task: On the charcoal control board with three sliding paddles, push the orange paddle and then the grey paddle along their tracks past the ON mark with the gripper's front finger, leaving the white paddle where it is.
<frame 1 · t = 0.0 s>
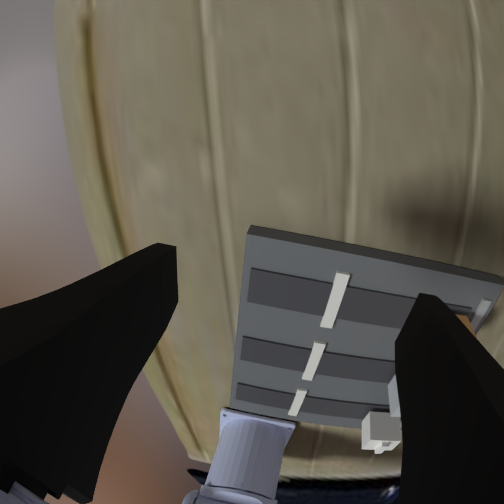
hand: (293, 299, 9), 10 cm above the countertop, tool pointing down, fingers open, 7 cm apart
control board: (350, 355, 23), on the countertop
paddle grey: (411, 397, 19), point 4 cm above the countertop, slide at 0.0 cm
paddle white: (381, 433, 23), point 4 cm above the countertop, slide at 0.0 cm
paddle orange: (450, 342, 16), point 4 cm above the countertop, slide at 0.0 cm
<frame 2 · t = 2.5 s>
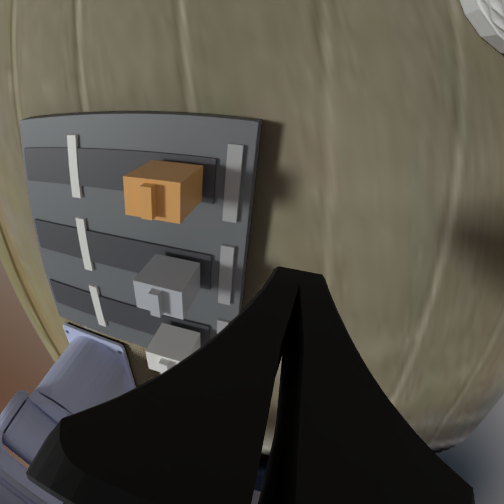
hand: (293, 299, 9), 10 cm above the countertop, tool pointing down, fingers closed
control board: (125, 243, 22), on the countertop
paddle grey: (166, 287, 18), point 4 cm above the countertop, slide at 0.0 cm
paddle white: (172, 353, 21), point 4 cm above the countertop, slide at 0.0 cm
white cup: (500, 7, 9), on the countertop
paddle orange: (162, 190, 15), point 4 cm above the countertop, slide at 0.0 cm
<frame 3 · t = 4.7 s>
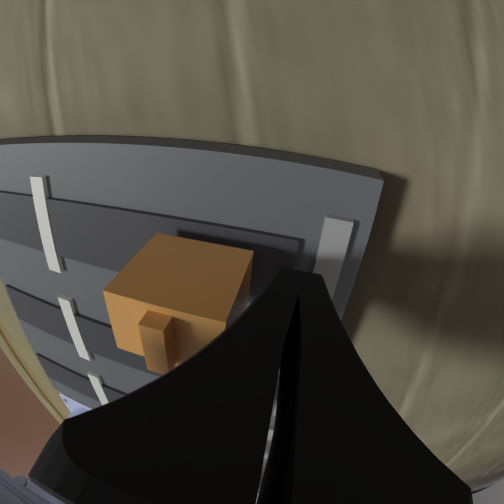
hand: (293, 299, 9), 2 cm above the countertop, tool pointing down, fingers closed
control board: (134, 330, 15), on the countertop
paddle orange: (181, 305, 8), point 4 cm above the countertop, slide at 0.7 cm, touching gripper
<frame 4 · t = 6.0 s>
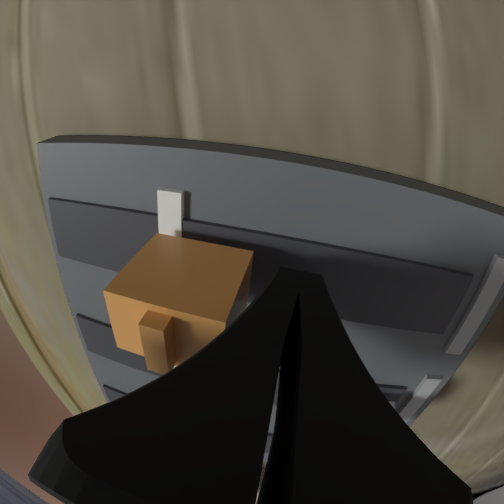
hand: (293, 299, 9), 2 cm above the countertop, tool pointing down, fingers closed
control board: (251, 360, 14), on the countertop
paddle grey: (354, 444, 10), point 4 cm above the countertop, slide at 0.0 cm
paddle orange: (181, 305, 8), point 4 cm above the countertop, slide at 6.7 cm, touching gripper
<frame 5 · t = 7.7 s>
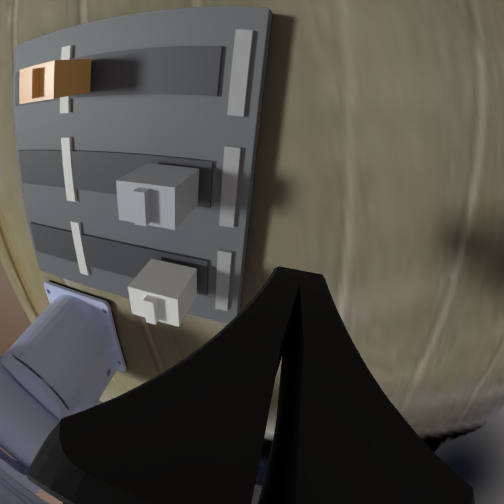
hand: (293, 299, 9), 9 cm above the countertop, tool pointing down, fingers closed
control board: (114, 166, 18), on the countertop
paddle grey: (156, 195, 15), point 4 cm above the countertop, slide at 0.0 cm
paddle white: (162, 293, 18), point 4 cm above the countertop, slide at 0.0 cm
paddle orange: (51, 80, 12), point 4 cm above the countertop, slide at 6.9 cm
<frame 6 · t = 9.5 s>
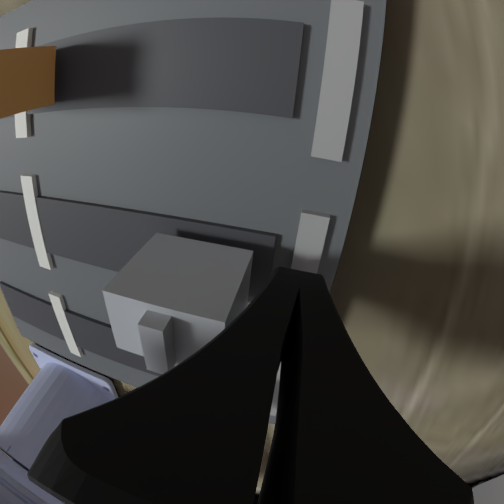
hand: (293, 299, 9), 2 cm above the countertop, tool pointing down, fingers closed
control board: (104, 220, 12), on the countertop
paddle grey: (181, 305, 8), point 4 cm above the countertop, slide at 0.0 cm, touching gripper
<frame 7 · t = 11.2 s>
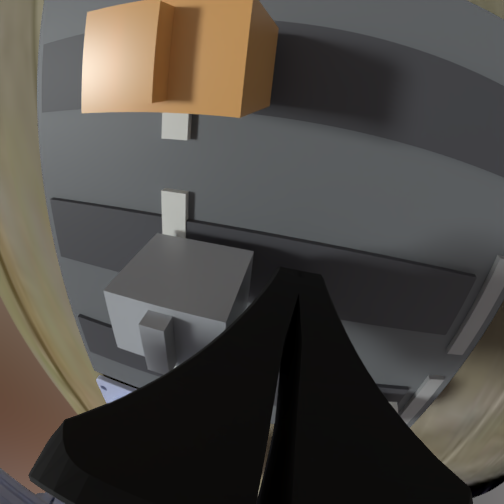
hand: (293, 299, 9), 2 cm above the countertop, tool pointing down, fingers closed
control board: (271, 250, 11), on the countertop
paddle grey: (181, 305, 8), point 4 cm above the countertop, slide at 6.9 cm, touching gripper
paddle white: (357, 445, 10), point 4 cm above the countertop, slide at 0.0 cm
paddle orange: (184, 57, 5), point 4 cm above the countertop, slide at 6.9 cm
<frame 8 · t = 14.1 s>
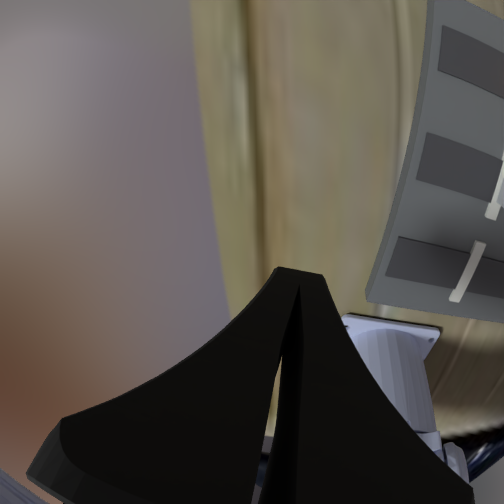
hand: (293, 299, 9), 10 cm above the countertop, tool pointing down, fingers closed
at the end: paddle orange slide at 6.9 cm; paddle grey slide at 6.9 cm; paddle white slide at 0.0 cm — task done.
